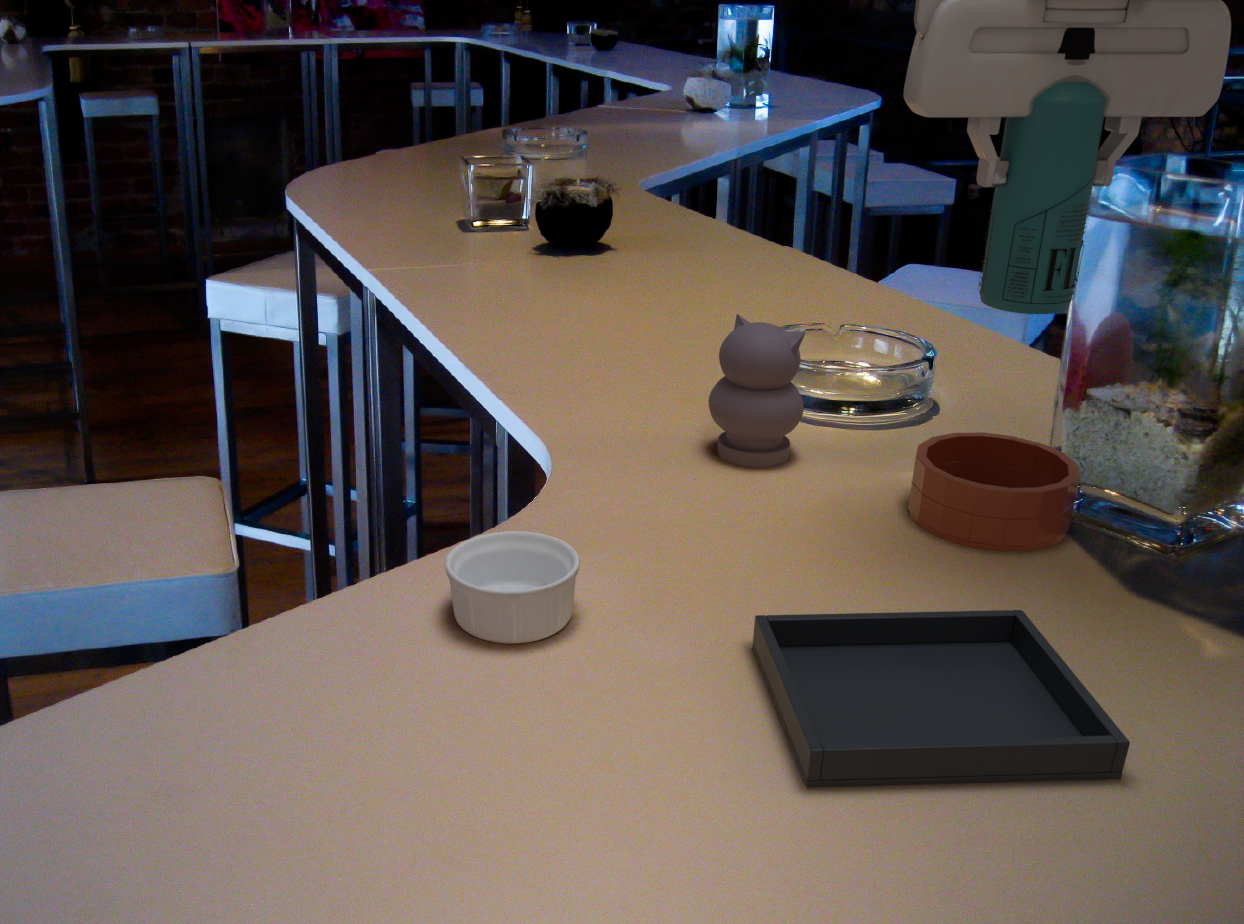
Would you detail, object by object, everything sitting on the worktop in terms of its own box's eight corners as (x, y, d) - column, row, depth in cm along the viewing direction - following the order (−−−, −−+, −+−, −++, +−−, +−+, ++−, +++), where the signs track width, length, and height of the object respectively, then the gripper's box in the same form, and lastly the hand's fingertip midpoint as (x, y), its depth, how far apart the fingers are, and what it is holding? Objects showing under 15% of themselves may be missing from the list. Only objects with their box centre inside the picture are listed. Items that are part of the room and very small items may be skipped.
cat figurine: (686, 450, 109) (693, 320, 104) (744, 430, 113) (754, 304, 108) (759, 480, 103) (771, 343, 98) (817, 457, 108) (831, 325, 102)
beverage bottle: (1039, 341, 83) (1096, 26, 74) (953, 321, 87) (997, 21, 79) (1086, 324, 87) (1145, 22, 78) (1002, 305, 91) (1049, 18, 83)
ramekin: (476, 662, 76) (475, 602, 74) (428, 600, 84) (425, 544, 82) (601, 632, 80) (603, 574, 78) (544, 575, 87) (545, 520, 85)
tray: (1015, 642, 79) (1022, 609, 78) (1121, 780, 66) (1130, 742, 65) (751, 648, 78) (755, 614, 77) (806, 789, 65) (810, 750, 64)
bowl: (1029, 486, 102) (1039, 431, 100) (1094, 551, 91) (1107, 490, 89) (889, 488, 101) (896, 433, 99) (938, 553, 91) (947, 492, 88)
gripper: (937, -37, 74) (908, 194, 80) (1264, -36, 75) (1211, 193, 81) (905, -39, 79) (880, 178, 85) (1209, -38, 80) (1163, 176, 86)
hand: (1043, 185), depth 83 cm, fingers closed on beverage bottle, 6 cm apart
